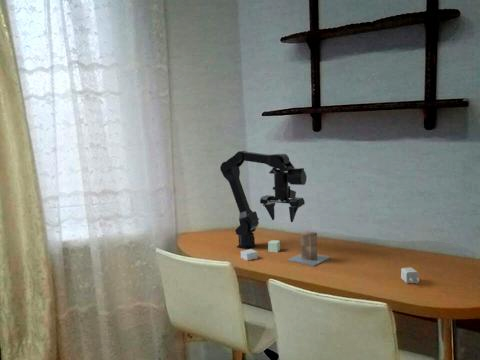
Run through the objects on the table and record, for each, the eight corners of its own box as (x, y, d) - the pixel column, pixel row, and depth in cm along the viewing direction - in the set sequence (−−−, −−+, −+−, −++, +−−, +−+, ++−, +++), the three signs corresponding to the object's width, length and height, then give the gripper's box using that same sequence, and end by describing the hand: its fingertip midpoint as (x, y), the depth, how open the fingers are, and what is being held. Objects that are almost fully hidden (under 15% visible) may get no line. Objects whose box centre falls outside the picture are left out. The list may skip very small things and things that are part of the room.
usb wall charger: (412, 278, 147) (413, 267, 146) (422, 286, 140) (422, 274, 139) (401, 279, 147) (401, 268, 146) (409, 287, 140) (409, 275, 139)
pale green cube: (268, 251, 186) (267, 242, 185) (271, 249, 189) (270, 240, 189) (277, 252, 184) (276, 243, 184) (280, 249, 188) (279, 240, 187)
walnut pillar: (301, 258, 172) (300, 233, 171) (307, 255, 175) (307, 231, 174) (311, 260, 169) (310, 235, 168) (317, 257, 172) (316, 232, 171)
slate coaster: (287, 260, 172) (287, 259, 172) (305, 253, 181) (305, 251, 181) (313, 266, 164) (313, 264, 164) (330, 258, 173) (330, 256, 172)
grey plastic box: (240, 258, 179) (240, 251, 178) (251, 256, 181) (250, 249, 181) (247, 261, 174) (247, 254, 174) (257, 258, 177) (257, 251, 176)
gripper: (310, 182, 182) (311, 219, 184) (273, 180, 194) (274, 215, 196) (297, 186, 174) (298, 224, 176) (258, 184, 185) (260, 220, 187)
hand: (282, 221), depth 184 cm, fingers open, 9 cm apart
